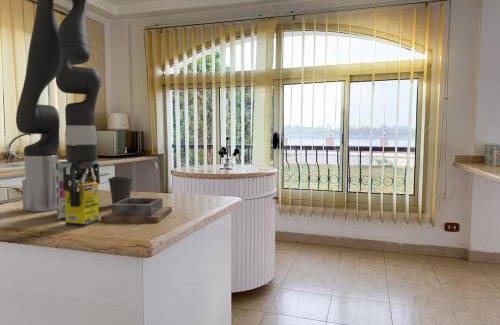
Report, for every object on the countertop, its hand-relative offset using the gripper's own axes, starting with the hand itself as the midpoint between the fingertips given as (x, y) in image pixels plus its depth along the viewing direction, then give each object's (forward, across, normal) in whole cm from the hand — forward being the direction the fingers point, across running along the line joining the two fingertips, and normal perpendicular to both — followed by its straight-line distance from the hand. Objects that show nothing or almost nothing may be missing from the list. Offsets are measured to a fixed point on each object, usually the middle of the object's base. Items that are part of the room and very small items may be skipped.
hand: (83, 203), depth 93 cm
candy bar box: (+5, -9, -9) cm, 14 cm away
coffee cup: (+5, -25, 0) cm, 26 cm away
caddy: (+6, -9, +12) cm, 16 cm away
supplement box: (+6, 0, 0) cm, 6 cm away
